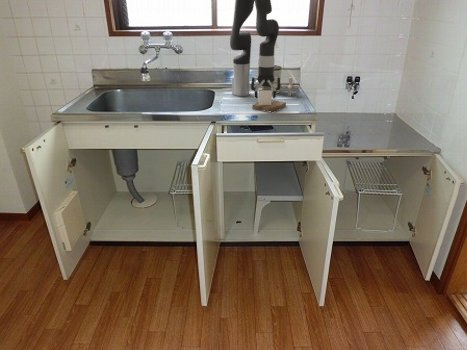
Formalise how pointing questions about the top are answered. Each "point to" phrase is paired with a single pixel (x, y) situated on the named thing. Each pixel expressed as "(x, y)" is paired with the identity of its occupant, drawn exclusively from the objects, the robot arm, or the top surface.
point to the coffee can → (276, 74)
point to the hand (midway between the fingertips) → (265, 98)
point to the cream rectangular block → (265, 96)
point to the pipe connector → (289, 86)
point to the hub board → (270, 106)
